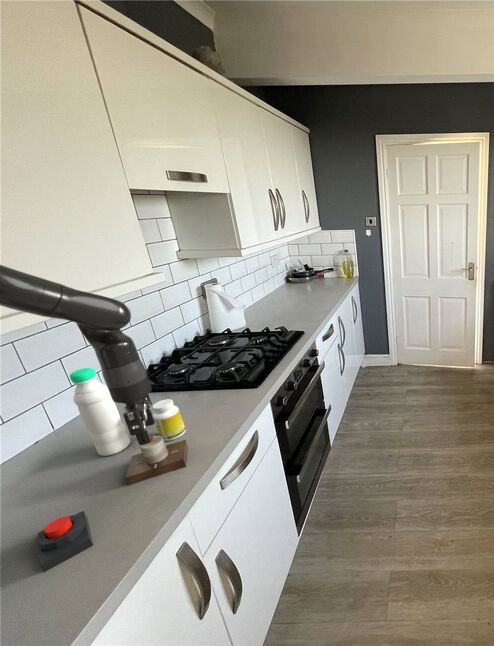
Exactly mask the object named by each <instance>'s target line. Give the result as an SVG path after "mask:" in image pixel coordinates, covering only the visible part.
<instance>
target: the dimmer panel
mask: <svg viewBox="0 0 494 646" xmlns="http://www.w3.org/2000/svg"><path fill="white" fill-rule="evenodd" d="M165 445H166V448H167V450H168V456H167V457H166V458H165V459H163V460H161V461H159V462H157V463H153V464H148V463H146V461H145V458H144V456H143V453H142V452H140V453H137V454H133V455H131V458H130V461H129V464H128V467H127V470H126V473H125V477H124V479H125V481H126V483H127V485H128V486H131V485H135V484H138V483H140V482H144V481H146V480H149V479H152V478H155V477H159V476H161V475H164V474H168V473H171V472H174V471H177V470H180V469H183V468H186V467H187V460H188V451H189V444H188V442H187V439H183V440H180V441H176V442H174V443H170V444H165Z"/></svg>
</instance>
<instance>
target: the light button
mask: <svg viewBox="0 0 494 646" xmlns="http://www.w3.org/2000/svg"><path fill="white" fill-rule="evenodd" d="M72 525H73V524H72V522H71V520H70V518H69V517H68V516H61V517H57V518H56V519H54V520H52V521H51V522H49V523H48V524H47V525H46V526H45V527H44V529H43V530H44V532H45V533H46V535H47V537H48V538H50V539H52V538H56V537H58V536H60V535H62V534H64V533H66V532H67V531H68V530H69V529H71V527H72Z"/></svg>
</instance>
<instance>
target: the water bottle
mask: <svg viewBox="0 0 494 646" xmlns="http://www.w3.org/2000/svg"><path fill="white" fill-rule="evenodd" d="M69 379H70V381H71V382H72V384H74V385H76V387H75V389H74V395H73V402H74V404H75V405H76V406H77V409H78V412H79V415H80V417H81V419H82V422H83V424H84V425H85V427H86V430H87V431H88V432H89V435H90V439H91V441H92V442H93V443H94V447H95V450H96V452H97V454H98V455H99V456H101V457H108V456H113V455H116V454H119V453H120V452H122V451H124V450H125V449H127V448H128V447H129V446H130V445H131V438H130V437H129V434H128V433H127V431H126V427H125V424H124V423H123V422H122V419H121V416H120V413H119V410H118V408H117V405H116V402H114V401H113V400H112V397H111V395H110V392H109V390H108V387H107V385H106V384H103V383H102V382H101V381H99V380H97V372H96V370H95V369H94V368H93V367H83V368H80V369H77V370H75V371H72V372H71V373H70V374H69Z"/></svg>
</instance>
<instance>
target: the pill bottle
mask: <svg viewBox="0 0 494 646" xmlns="http://www.w3.org/2000/svg"><path fill="white" fill-rule="evenodd" d="M152 409H153V410H152V411H153V413H152V415H153V418H154V421H155V423H154V425H155V427H156V430H157V432H158V434H159V435H158V436H162V437H163V440H164V442H170V441H175V440H177V439H179V438H180V437H182V436H183V435H185V433H186V431H187V429H186V426H185V423H184V420H183V418H182V414H181V411H180V409H179V407H178V406H177V405H174V401H173V399H170V398H167V399H162V400H159V401H157V402H155V403H154V404H152Z"/></svg>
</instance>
